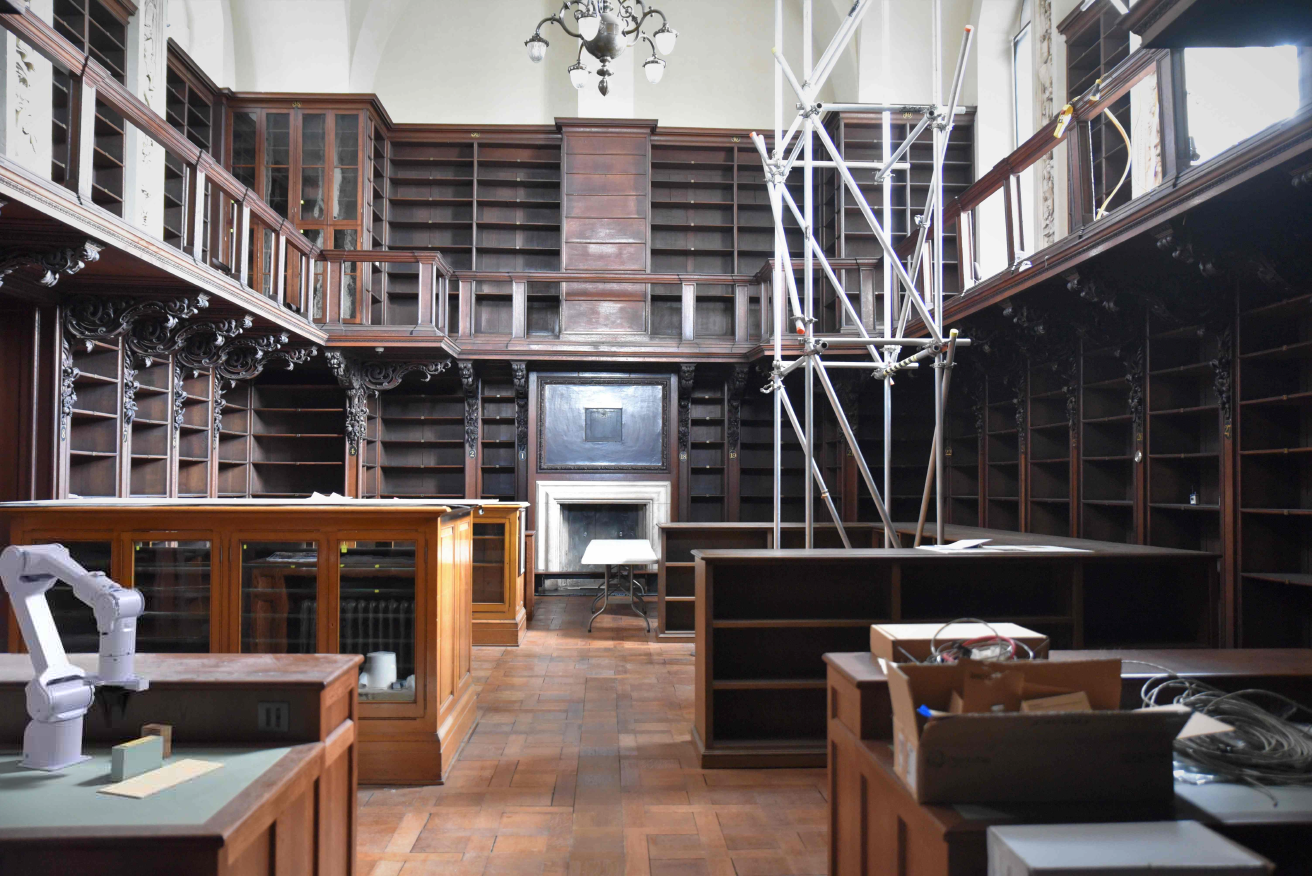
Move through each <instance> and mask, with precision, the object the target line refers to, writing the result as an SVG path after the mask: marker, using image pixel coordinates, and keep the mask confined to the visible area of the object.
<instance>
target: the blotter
mask: <svg viewBox="0 0 1312 876" xmlns="http://www.w3.org/2000/svg"><path fill="white" fill-rule="evenodd" d="M226 766H227V763H223V762H221V763H220V762H213V761H206V760H200V759H199V760H198V759H191V758H186V759H182V760H179V761H177V762H173V763H171V764H168V765H165V766H162V768H159V769H156V770H154V771H151V772H148V773H145V774H142V775H139V776H137V777H134V778H131V779H128V780H125V781H123V782H118V783H117V782H116V783H115V784H112V785H108V786H107V787H103V788H100V789H98V790H97V791H98V793H101V794H102V793H104V794H108V795H116V796H121V797H127V798H128V797H130V798H136V799H141V800H142V799H144V798H146V797H148V796H151V795H154V794H156V793H160V792H161V791H164V790H167V789H169V788H172V787H175V786H177V785H180V784H182V783H185V782H187V781H190V780H192V779H195V778H198V777H200V776H204V775H205V774H208V773H210V772H213V771H216V770H219V769H221V768H224V767H226Z"/></svg>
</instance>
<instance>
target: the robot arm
mask: <svg viewBox="0 0 1312 876" xmlns="http://www.w3.org/2000/svg"><path fill="white" fill-rule="evenodd" d="M0 579H1V581H2V585H3V587H4V590H5V592H6V593H8V596H9V599H10V603H11V606H12V609H13V612H14V614H15V617H16V620H17V622H18V623H17V624H18V625H19V628H20V631H21V634H22V637H23V640H24V643H25V645H26V649H27V652H28V654H29V658H30V661H31V665H32V666H33V670H34V672H35V675H34V677H33V678H32V679H30V681H29V682H28V683H27V685H26V686H25V688H24V691H25V694H26V710H27V713H28V715H29V716H30V717H31V719H32V720H31V721H29V723H28V724H27V725H26V727H25V730H24V732H23V733H24V734H23V735H24V736H23V748H22V762H20V763H18V764H17V767H20V768H26V769H27V768H28V769H34V770H41V771H46V772H53V771H57V770H60V769H64V768H67V767H70V766H74V765H76V764H80V763H83V762H86V761H90V760H92V756H91V755H82V739H83V724H84V723H83V720H84V715H85V714H87V713H88V708H90V707H92V705H93V702H94V700H95V699H96V701H97V702H98V705H99V707H100V710H101V713H102V716H103V717H102V718H103V721H104V724H105V727H106V728H109V729H113V728H116V727H120V726H121V725H122V722H123V720H124V716H125V713H126V711H127V709H128V708H127V707H128V706H129V703H130V702H131V699H132V698H133V696H134V695H135V694H136V692H141V691H144V690H149V687H150V685H149V684H150V678H148V677H142V676H139V675H136V674H135V673H134V672H135V655H136V654H135V652H136V636H137V635H136V633H137V631H136V630H137V618H139V617H140V616H141V615H142V614H143V612H144V609H145V598H144V595H143V594H142V592H141V591H139V589H138V588H134V587H133V588H128V589H127V588H124V587H122V586H121V585H120V584H119V583H116V582H115V581H113V580H112V579H110V578H108V577H107V576H106V573H105V572H103V571H90V572H88V571H87V570H86V569H85V568H83V566H82V565H80V564H79V563H78V562H77V561H75V560H74V559H73V558H72V557H70V552H69V549H68V548H66V547H64V546H63V545H62V544H60V543H56V542H55V543H51V544H37V545H35V544H34V545H10V546H7V547H6V548H5V549H4V550H3V551H2V553H1V554H0ZM58 579H59V580H61V581H62V582H64V583H66V584H67V585H69V586H72V592H73V594H74V596H75V598H78V599H79V600H80V601H82V602H84V603H85V604H86V605H88V607H91V608H92V609H93V615H94V617H95V619H96V623H97V625H96V628H97V631H98V632H99V649H98V671H97V673H91V674H90V673H89V674H86V672H85V670H84V669H83V668H81V667H78V666H76V665H73V664H71V663H69V660H68V657H67V655H66V652H65V649H64V646H63V642H62V640H61V638H60V635H59V632H58V630H57V626H56V624H55V621H54V618H53V616H52V613H51V609H50V607H49V605H48V601H47V599H46V596H45V593H46V591H48V590H49V589H51V588H53V586H54V585H55V583H56V581H57V580H58ZM95 687H100V688H99V689H98V690H96V689H95Z"/></svg>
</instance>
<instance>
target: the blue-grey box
mask: <svg viewBox="0 0 1312 876" xmlns="http://www.w3.org/2000/svg"><path fill="white" fill-rule="evenodd" d="M162 754H163V737H161V736H153V735H151V736H148V737H144V738H141V737H140V738H138V739H135V740H131V741H129V742H126V743H122V744H118V745H115V746H113V747H112V748H111V763H110V765H111V767H110V781H112V782H116V783H117V782H118V783H120V782H123V781H125V780H128V779H131V778H134V777H137V776H139V775H142V774H145V773H148V772H151V771H154V770H156V769H159V768H162V767H163V759H162Z"/></svg>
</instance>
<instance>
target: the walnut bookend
mask: <svg viewBox="0 0 1312 876" xmlns="http://www.w3.org/2000/svg"><path fill="white" fill-rule="evenodd" d="M151 735H153V736H161V737H163V754H162V760H164V759H168V758H170V757H171V748H172V747H171V746H172V745H171V744H172V726H171V725H166V724H157V723H150V724H147V725H144V726H141V737H140V739H141V738H144V737H148V736H151Z"/></svg>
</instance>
